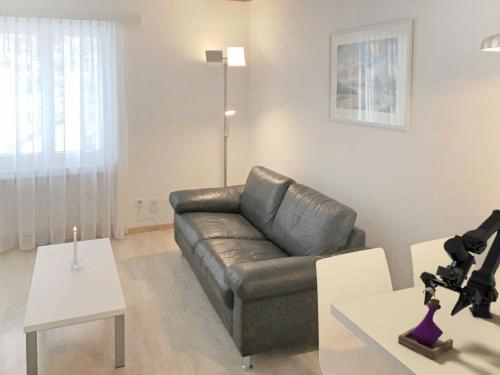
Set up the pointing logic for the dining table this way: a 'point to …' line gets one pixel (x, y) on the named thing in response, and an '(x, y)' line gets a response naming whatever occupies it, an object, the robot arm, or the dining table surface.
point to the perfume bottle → (428, 324)
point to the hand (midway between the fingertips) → (437, 310)
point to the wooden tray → (429, 352)
